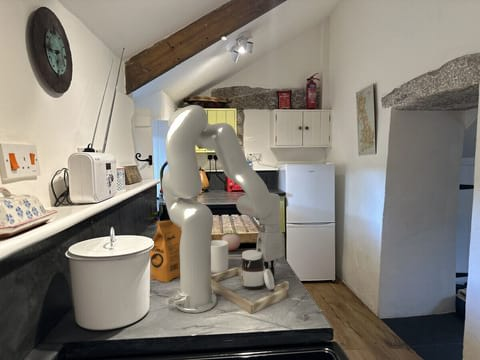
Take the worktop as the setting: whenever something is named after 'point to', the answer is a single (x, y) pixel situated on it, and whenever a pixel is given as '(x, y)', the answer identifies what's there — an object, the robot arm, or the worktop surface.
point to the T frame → (255, 306)
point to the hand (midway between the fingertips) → (269, 276)
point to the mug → (219, 256)
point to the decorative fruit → (232, 240)
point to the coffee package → (166, 252)
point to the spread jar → (255, 271)
